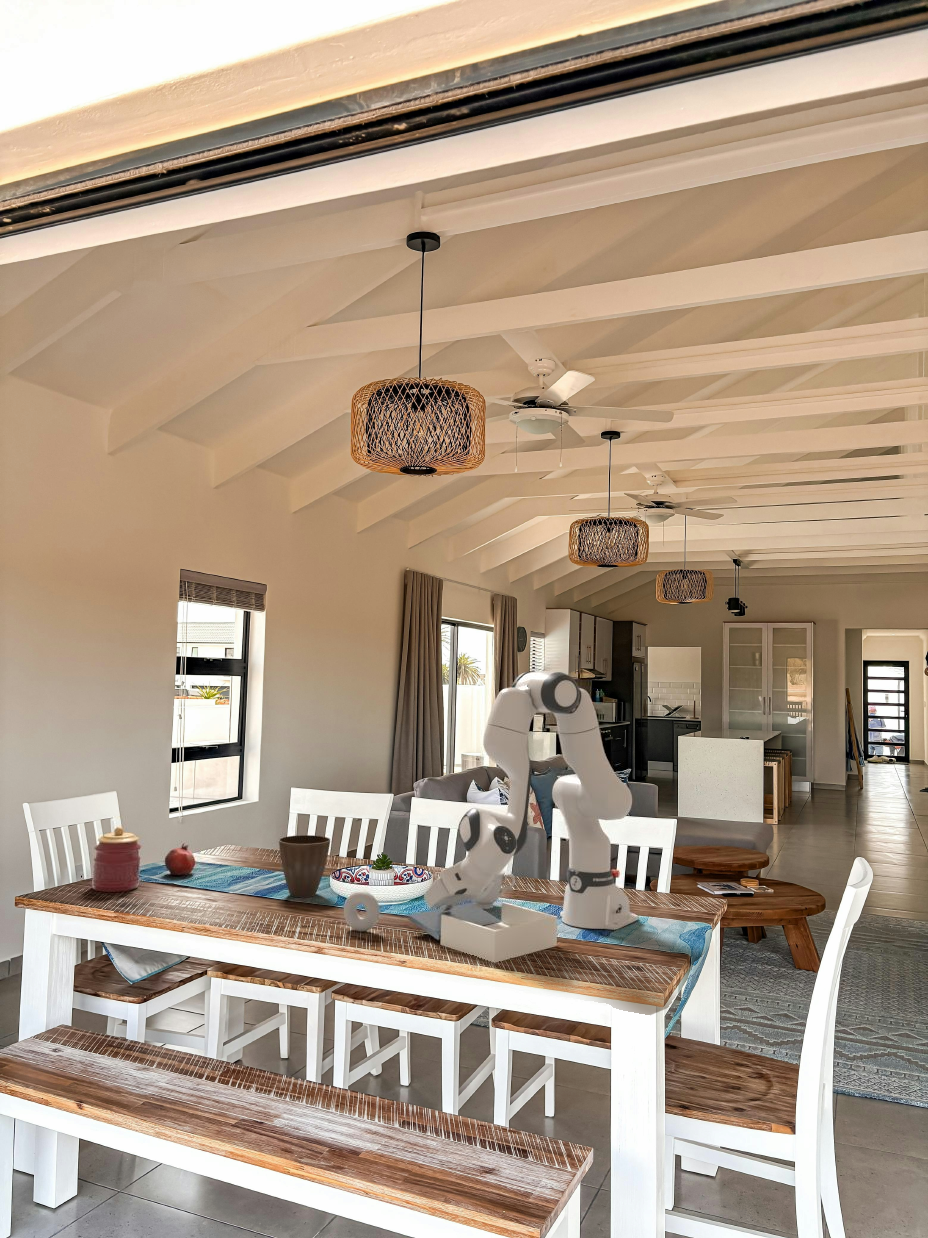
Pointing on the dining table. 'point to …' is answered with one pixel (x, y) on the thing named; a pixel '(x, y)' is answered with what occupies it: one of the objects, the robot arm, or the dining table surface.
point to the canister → (116, 862)
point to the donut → (371, 909)
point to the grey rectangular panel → (466, 912)
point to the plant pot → (303, 862)
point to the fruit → (180, 861)
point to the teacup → (494, 891)
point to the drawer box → (501, 934)
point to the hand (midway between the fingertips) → (444, 908)
